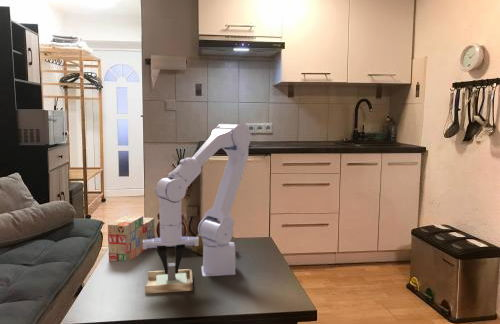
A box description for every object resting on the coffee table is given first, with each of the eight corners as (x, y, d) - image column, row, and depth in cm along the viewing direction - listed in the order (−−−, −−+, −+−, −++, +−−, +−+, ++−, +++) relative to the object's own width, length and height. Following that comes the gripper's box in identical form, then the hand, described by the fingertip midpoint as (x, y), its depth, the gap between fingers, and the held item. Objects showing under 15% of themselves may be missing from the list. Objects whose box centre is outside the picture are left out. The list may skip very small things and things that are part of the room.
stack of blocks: (139, 241, 147) (138, 208, 146) (155, 242, 146) (154, 209, 145) (108, 262, 126) (107, 223, 125) (126, 263, 125) (125, 225, 124)
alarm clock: (189, 245, 143) (189, 204, 141) (184, 249, 138) (183, 207, 137) (161, 243, 145) (160, 202, 144) (155, 247, 141) (154, 205, 139)
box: (191, 277, 114) (191, 269, 114) (192, 292, 104) (192, 283, 104) (148, 280, 112) (148, 271, 112) (145, 295, 102) (144, 286, 102)
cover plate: (185, 275, 113) (185, 258, 112) (187, 285, 106) (187, 268, 105) (156, 277, 111) (156, 260, 110) (156, 288, 104) (155, 270, 104)
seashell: (235, 259, 133) (239, 229, 133) (191, 257, 130) (194, 227, 130) (230, 249, 144) (233, 221, 144) (189, 247, 141) (192, 219, 140)
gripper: (196, 218, 112) (197, 265, 113) (143, 220, 109) (144, 269, 110) (199, 224, 105) (199, 274, 107) (141, 227, 102) (143, 279, 104)
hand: (171, 272), depth 108 cm, fingers closed on cover plate
